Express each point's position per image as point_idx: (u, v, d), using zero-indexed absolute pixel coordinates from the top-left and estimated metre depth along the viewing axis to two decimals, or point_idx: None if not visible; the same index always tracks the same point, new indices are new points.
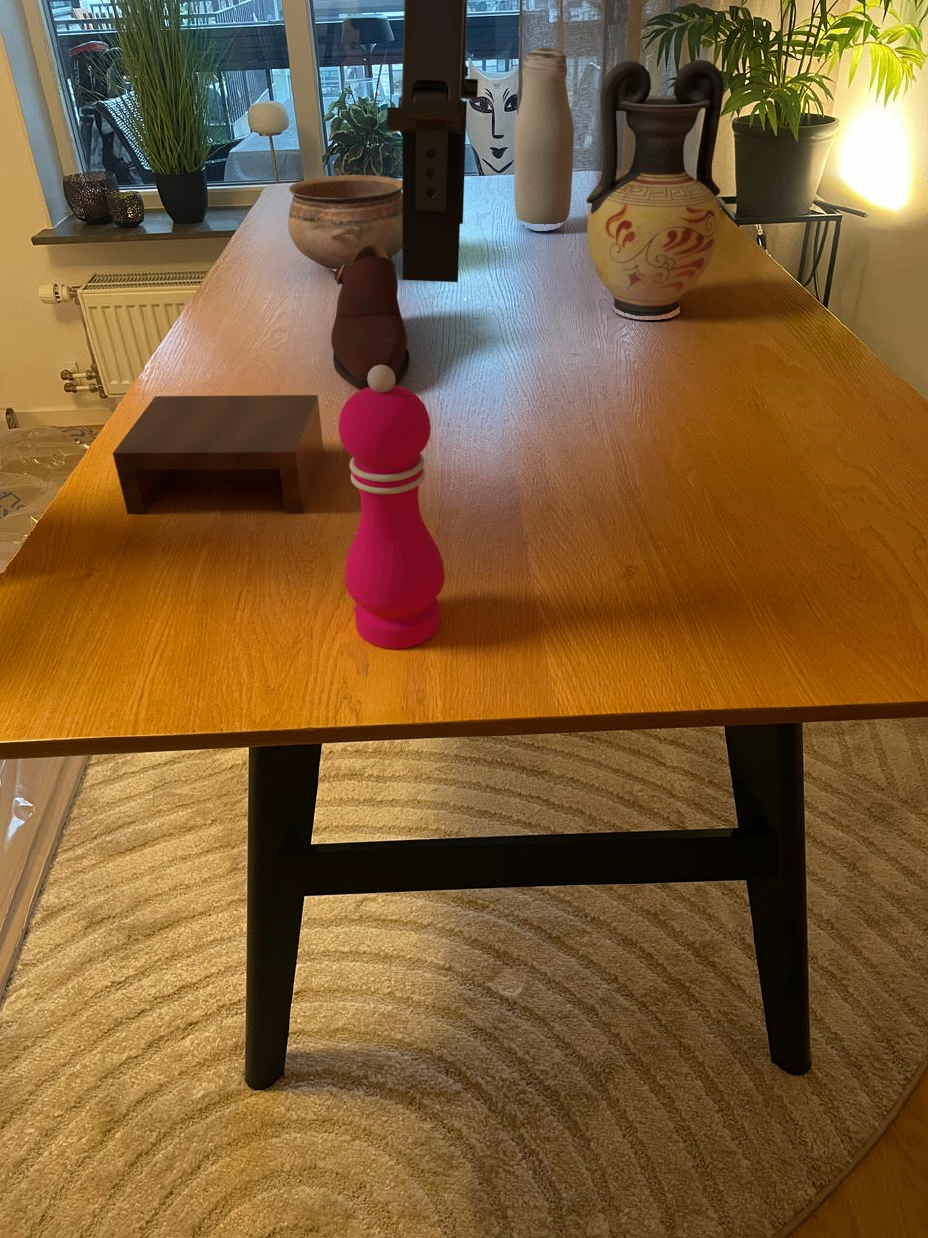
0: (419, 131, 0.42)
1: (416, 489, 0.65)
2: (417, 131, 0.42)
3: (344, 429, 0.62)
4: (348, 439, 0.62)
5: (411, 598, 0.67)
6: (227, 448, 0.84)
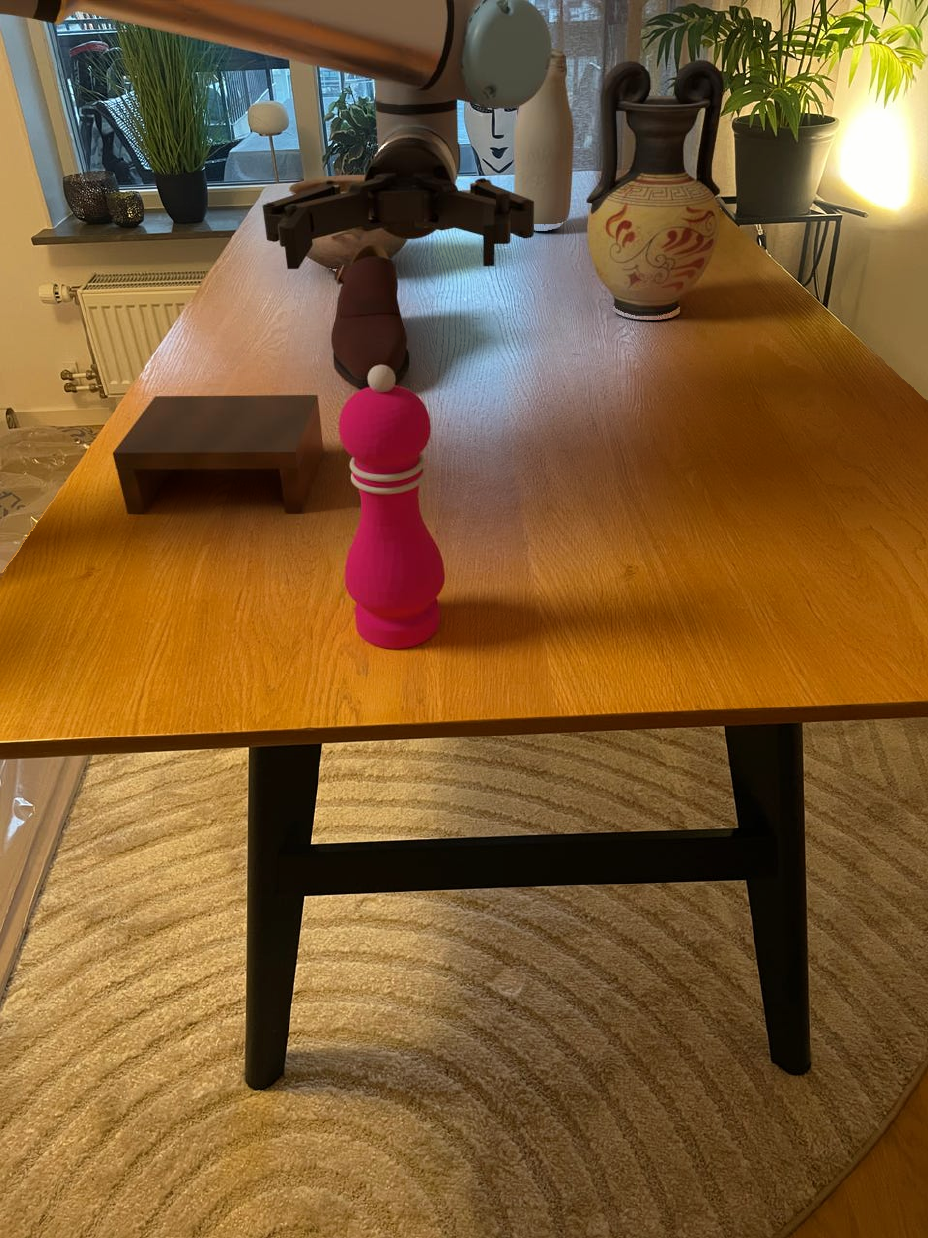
0: (512, 214, 0.71)
1: (416, 489, 0.65)
2: (512, 213, 0.71)
3: (344, 429, 0.62)
4: (349, 439, 0.62)
5: (411, 598, 0.67)
6: (227, 448, 0.84)
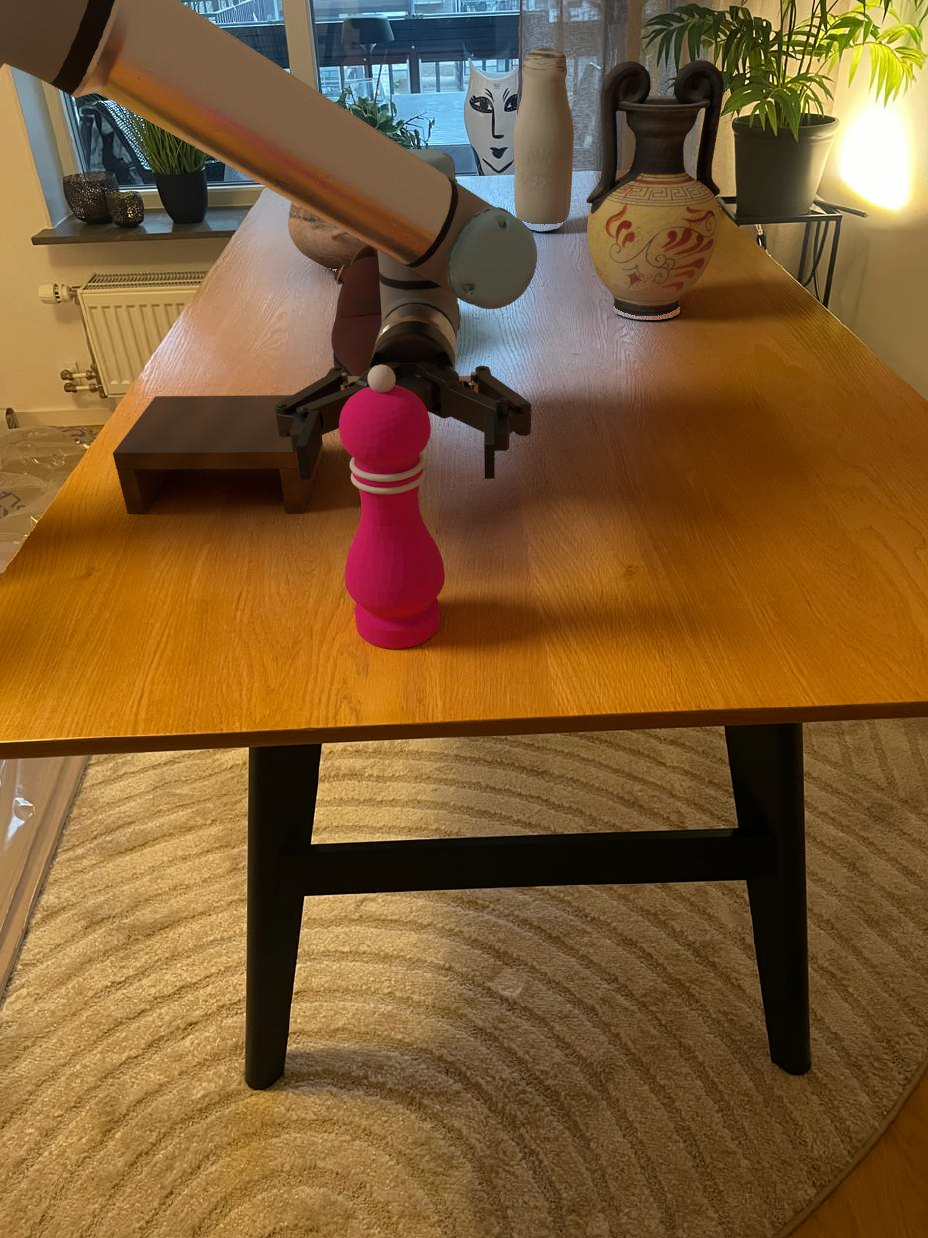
0: (511, 418, 0.76)
1: (416, 489, 0.65)
2: (511, 417, 0.75)
3: (344, 429, 0.62)
4: (349, 439, 0.62)
5: (411, 598, 0.67)
6: (227, 448, 0.84)
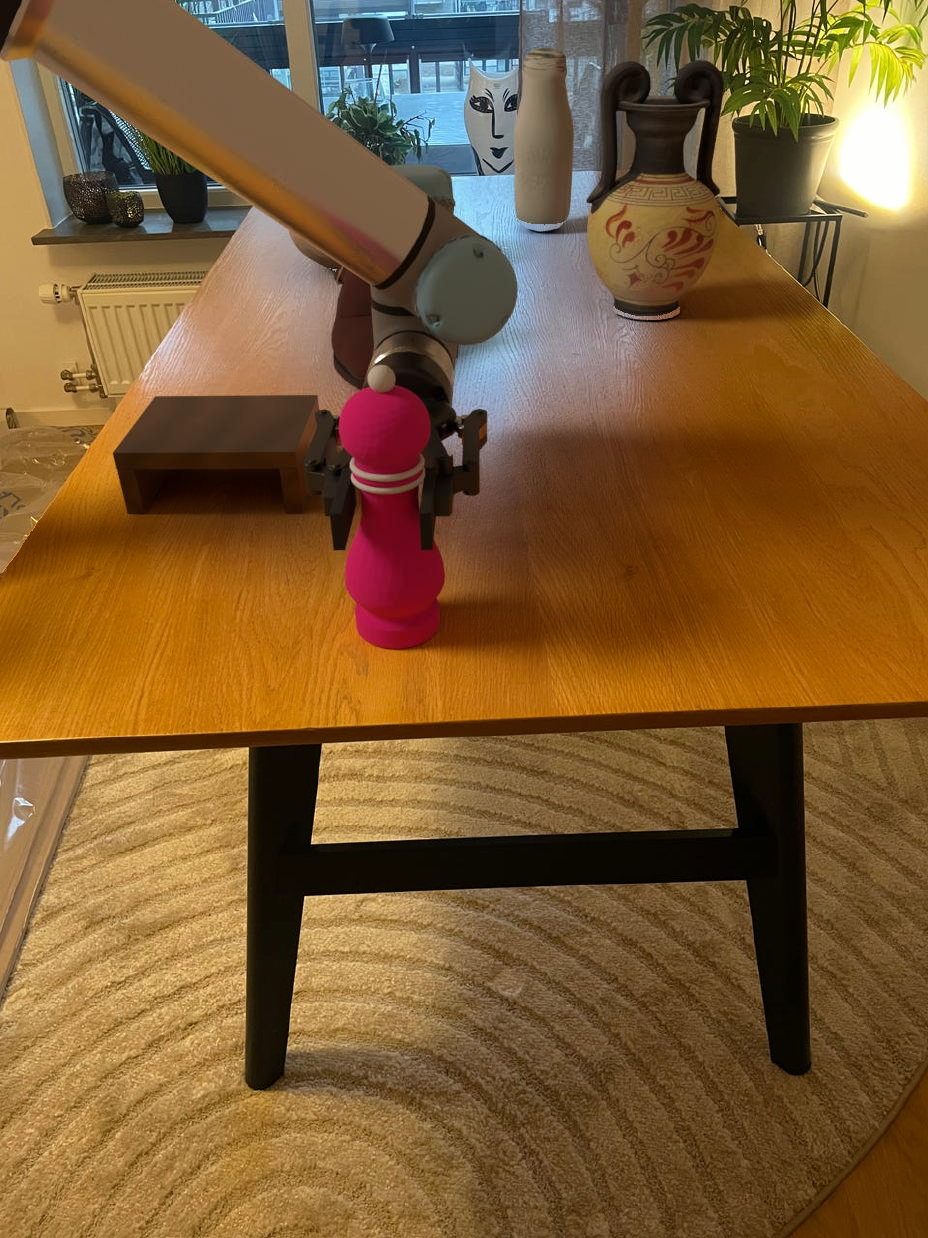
0: (456, 477, 0.67)
1: (416, 489, 0.65)
2: (455, 476, 0.67)
3: (344, 429, 0.62)
4: (349, 439, 0.62)
5: (411, 598, 0.67)
6: (227, 448, 0.84)
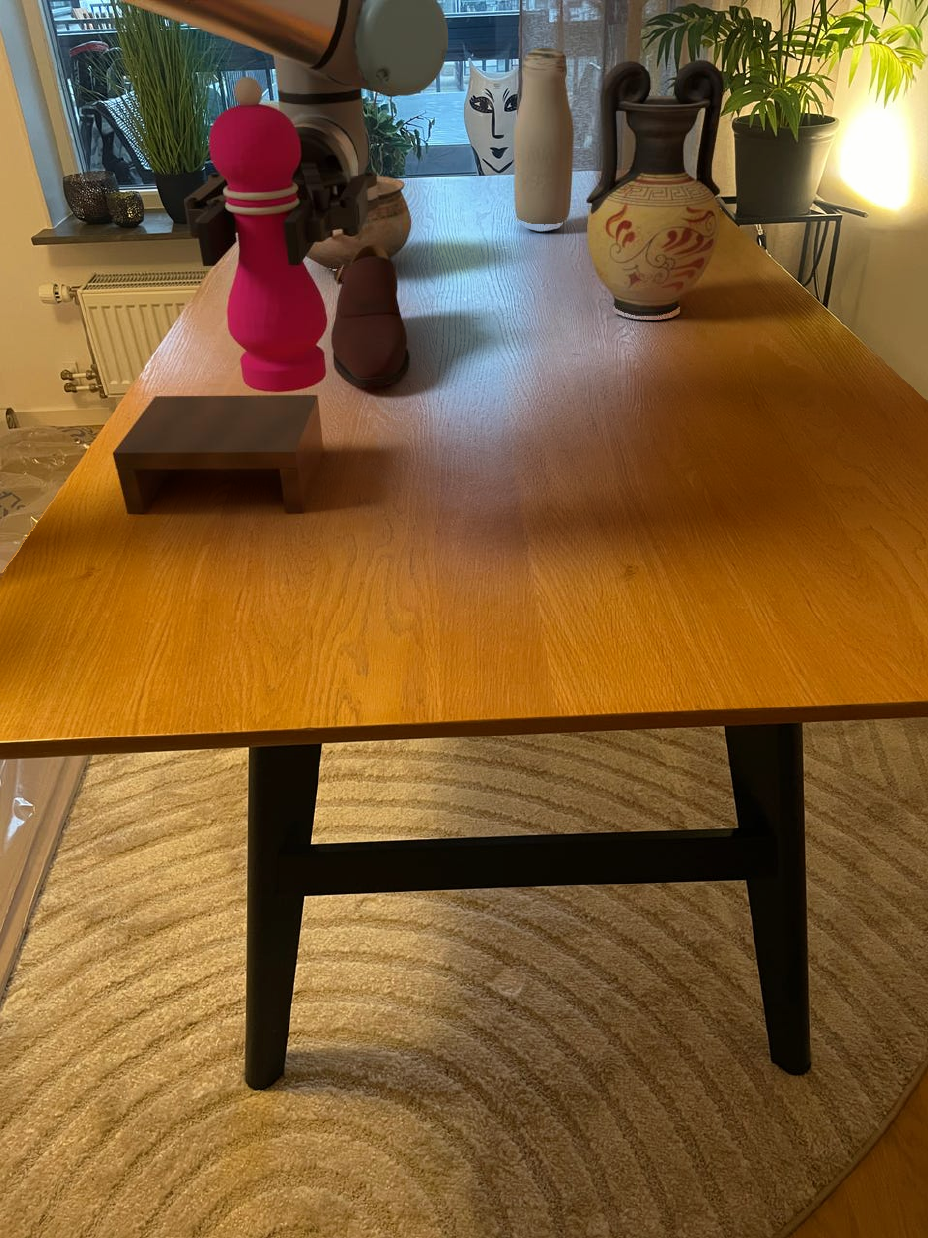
0: (332, 211, 0.68)
1: None
2: (332, 210, 0.68)
3: (212, 143, 0.63)
4: (216, 152, 0.63)
5: (288, 332, 0.68)
6: (227, 448, 0.84)
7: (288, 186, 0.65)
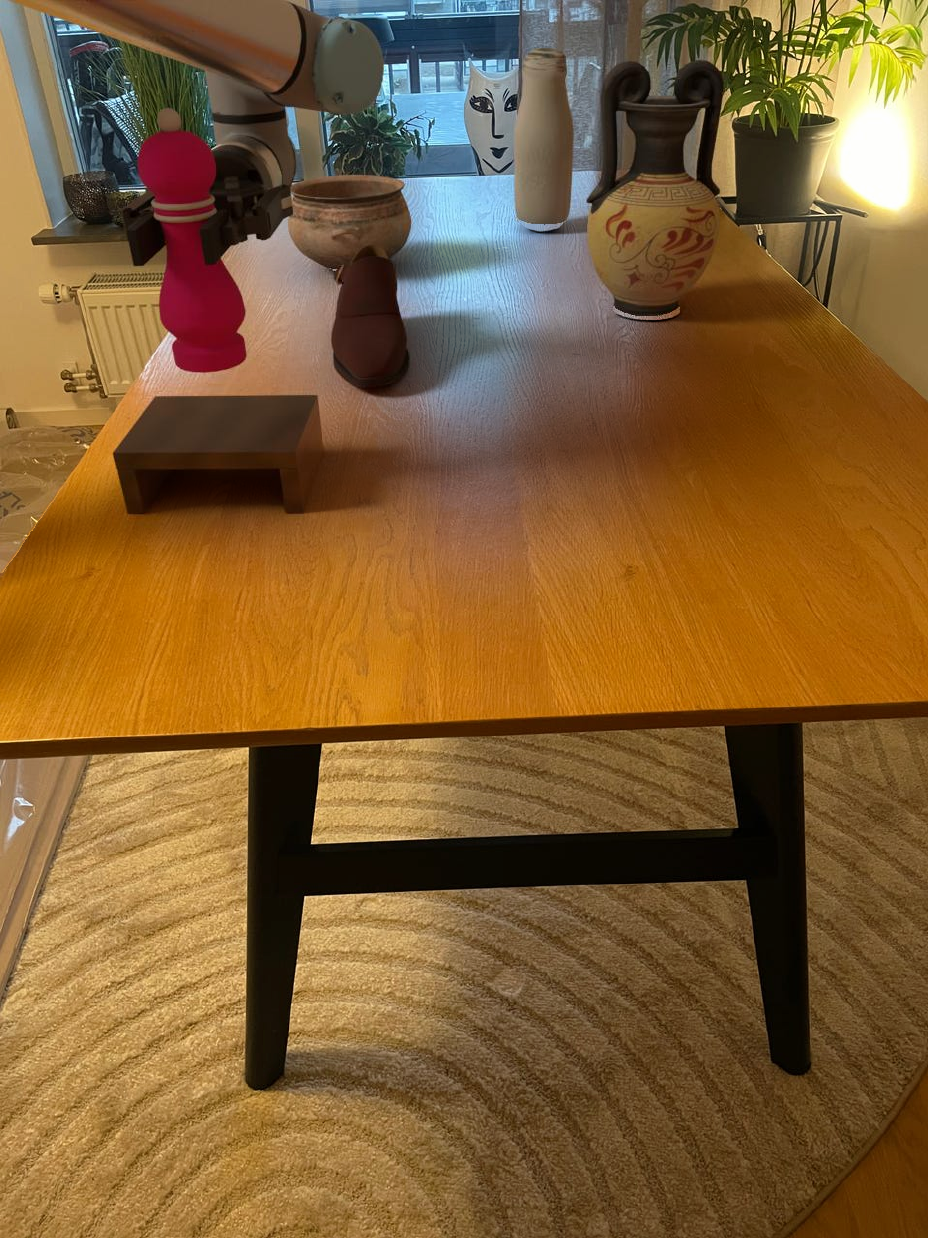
0: (245, 219, 0.80)
1: None
2: (245, 218, 0.80)
3: (139, 163, 0.75)
4: (143, 171, 0.75)
5: (209, 321, 0.81)
6: (227, 448, 0.84)
7: (206, 198, 0.78)
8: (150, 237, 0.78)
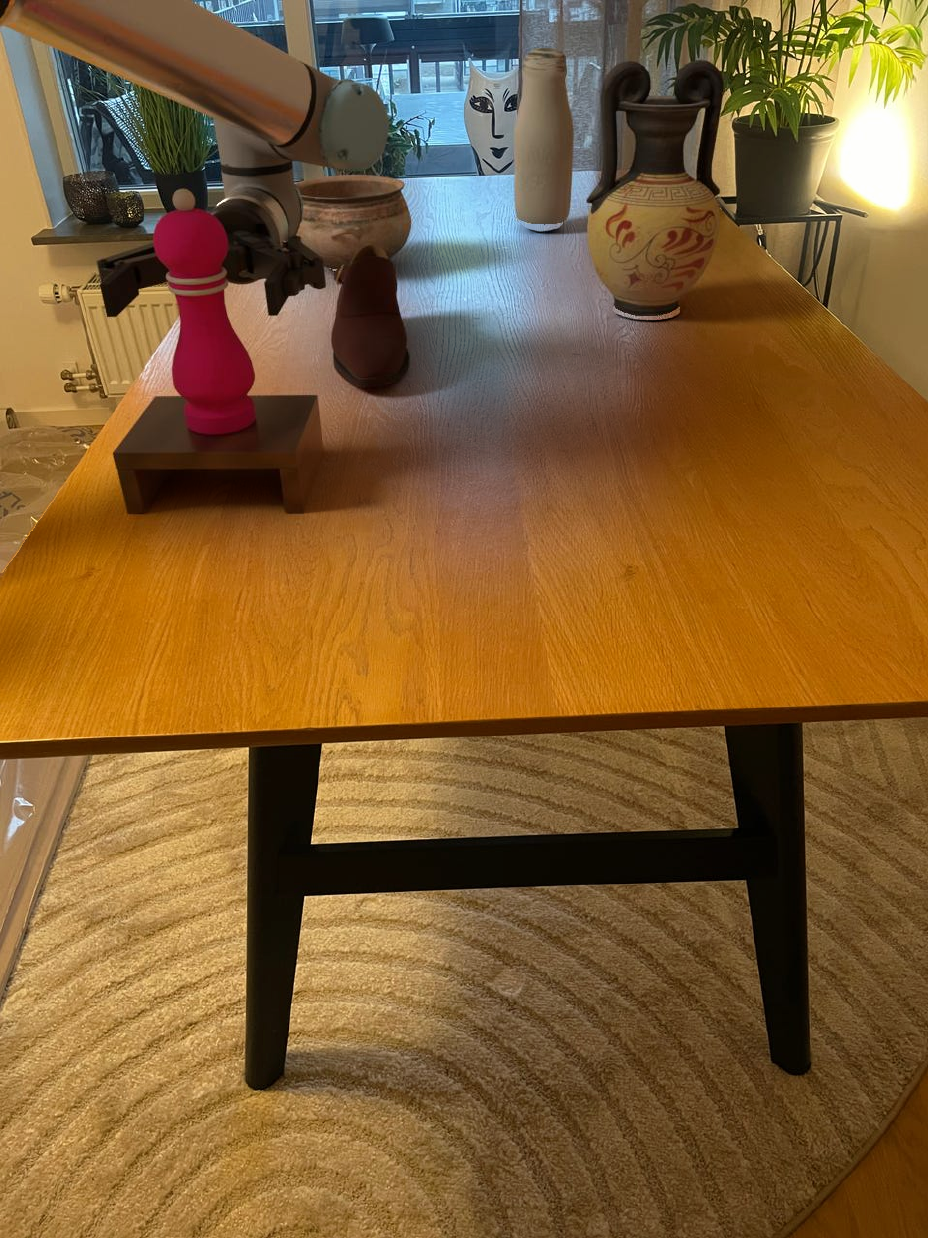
0: (304, 270, 0.85)
1: (220, 296, 0.82)
2: (303, 269, 0.85)
3: (155, 240, 0.79)
4: (158, 248, 0.79)
5: (221, 387, 0.84)
6: (227, 448, 0.84)
7: (218, 272, 0.81)
8: (123, 289, 0.83)
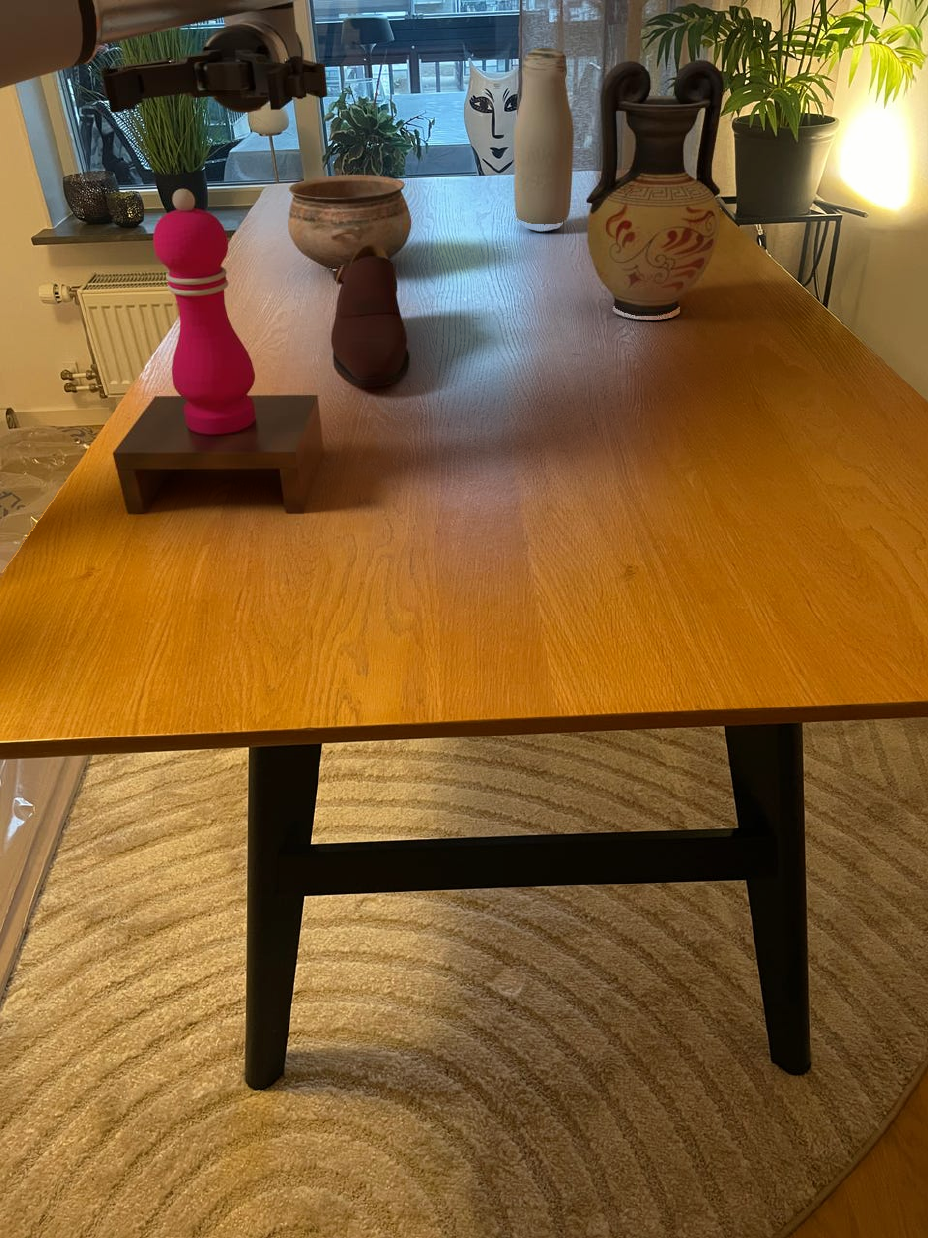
0: (305, 75, 0.86)
1: (220, 296, 0.82)
2: (305, 74, 0.86)
3: (155, 240, 0.79)
4: (158, 248, 0.79)
5: (221, 387, 0.84)
6: (227, 448, 0.84)
7: (218, 272, 0.81)
8: (127, 88, 0.83)
